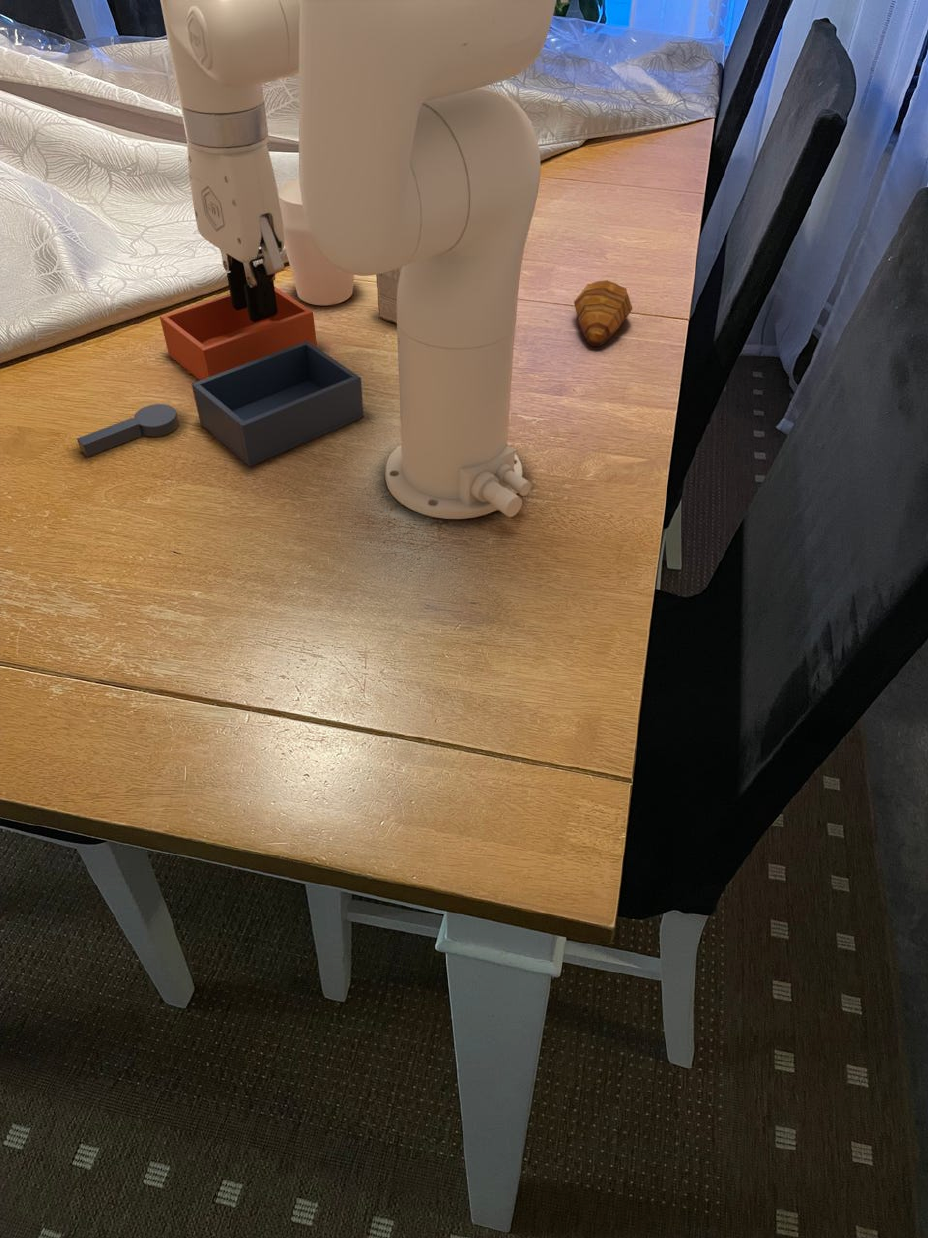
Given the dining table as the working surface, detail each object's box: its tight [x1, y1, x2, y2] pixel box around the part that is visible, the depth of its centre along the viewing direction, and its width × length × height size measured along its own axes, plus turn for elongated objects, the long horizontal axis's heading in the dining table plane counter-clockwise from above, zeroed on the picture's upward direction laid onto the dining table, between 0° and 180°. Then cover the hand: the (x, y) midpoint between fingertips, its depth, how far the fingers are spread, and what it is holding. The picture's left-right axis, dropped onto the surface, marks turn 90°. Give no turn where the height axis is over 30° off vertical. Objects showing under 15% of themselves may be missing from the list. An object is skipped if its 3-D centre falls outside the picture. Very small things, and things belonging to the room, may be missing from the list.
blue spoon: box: [76, 403, 180, 458], centre depth 84 cm, size 10×4×1 cm, turn 131°
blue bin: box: [191, 341, 364, 468], centre depth 86 cm, size 9×13×4 cm
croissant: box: [573, 279, 633, 347], centre depth 101 cm, size 14×7×5 cm, turn 168°
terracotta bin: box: [159, 285, 318, 381], centre depth 95 cm, size 9×13×4 cm
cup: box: [277, 177, 355, 306], centre depth 102 cm, size 9×9×12 cm
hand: (255, 310), depth 94 cm, fingers closed
